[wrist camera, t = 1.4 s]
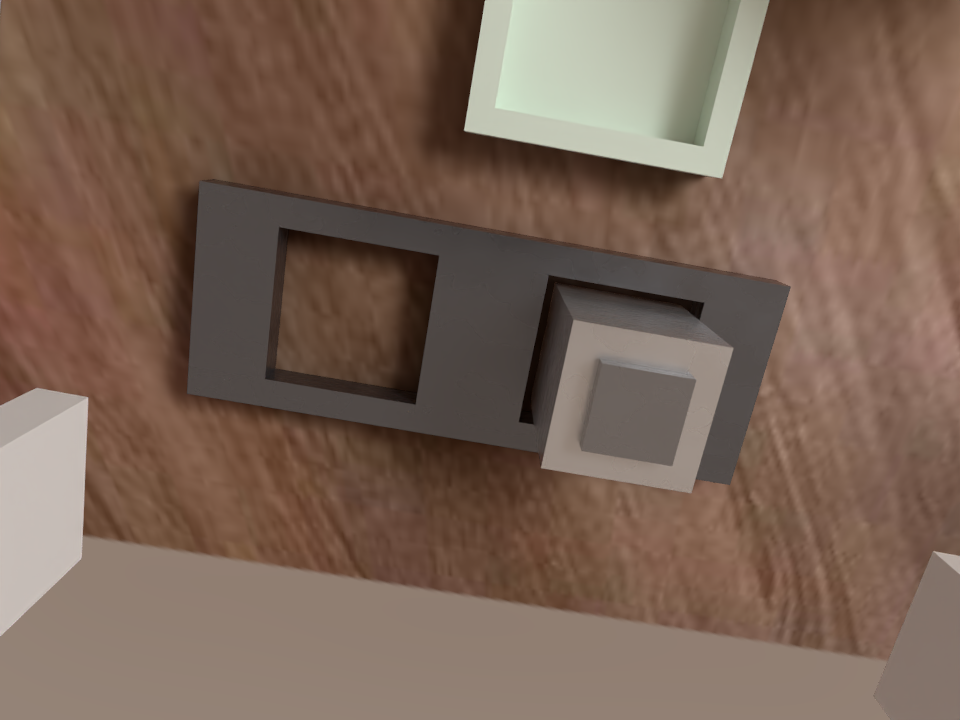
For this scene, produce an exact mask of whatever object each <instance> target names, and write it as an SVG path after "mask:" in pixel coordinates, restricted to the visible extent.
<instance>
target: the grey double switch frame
mask: <svg viewBox="0 0 960 720" xmlns="http://www.w3.org/2000/svg"><path fill="white" fill-rule="evenodd" d="M289 229H293V230H298V231H304V232H309V233H315V234H321V235H326V236H332V237H338V238H343V239H349V240H354V241H360V242H366V243H371V244H377V245H383V246H388V247H394V248H399V249H405V250H411V251H416V252H422V253H428V254H433V255H439V261H438V267H437V273H436V280H435V286H434V292H433V299H432V305H431V311H430V317H429V324H428V330H427V336H426V343H425V349H424V355H423V361H422V368H421V374H420V380H419V386H418V393H415V392H409V391H403V390H397V389H392V388H386V387H380V386H374V385H368V384H362V383H356V382H350V381H345V380H339V379H333V378H327V377H321V376H315V375H309V374H303V373H298V372H292V371H286V370H280V369H275V366H276V355H277V345H278V335H279V324H280V314H281V303H282V293H283V283H284V272H285V262H286V252H287V241H288V231H289ZM549 275H551V276H557V277H563V278H568V279H574V280H580V281H585V282H591V283H596V284H602V285H608V286H613V287H619V288H625V289H630V290H636V291H641V292H647V293H653V294H658V295H664V296H670V297H675V298H681V299H686V300H692V301H693V303H692V306H691V310H690V313H691V314H692V315H693V316H695V317H696V318H697V319H698V320H700V321H701V322H702V323H703V324H704V325H706V326H707V327H708V328H709V329H711V330H712V331H713V332H714V333H716V334H717V335H718V336H719V337H721V338H722V339H723V340H724V341H726V342H727V343H728V344H729V345H730V346H732V347H733V348H734V349H733V352H732V355H731V359H730V362H729V366H728V369H727V373H726V376H725V379H724V383H723V386H722V390H721V393H720V397H719V400H718V403H717V407H716V410H715V414H714V417H713V421H712V424H711V427H710V431H709V434H708V438H707V441H706V445H705V448H704V451H703V455H702V458H701V462H700V465H699V469H698V472H697V475H696V479H698V480H704V481H710V482H716V483H722V484H728V485H730V483H731V479H732V476H733V473H734V470H735V466H736V463H737V460H738V457H739V453H740V450H741V447H742V444H743V440H744V437H745V434H746V431H747V427H748V424H749V421H750V418H751V414H752V411H753V408H754V405H755V401H756V398H757V395H758V392H759V388H760V385H761V382H762V379H763V375H764V372H765V369H766V366H767V362H768V359H769V356H770V353H771V349H772V346H773V343H774V340H775V336H776V333H777V330H778V327H779V323H780V320H781V317H782V314H783V310H784V307H785V304H786V300H787V297H788V294H789V291H790V286H788V285H786V284H783V283H781V282H779V281H777V280H772V279H766V278H760V277H755V276H749V275H744V274H738V273H733V272H727V271H722V270H716V269H710V268H705V267H699V266H694V265H688V264H683V263H677V262H671V261H666V260H660V259H655V258H649V257H644V256H638V255H632V254H627V253H621V252H616V251H610V250H605V249H599V248H593V247H588V246H582V245H577V244H571V243H566V242H560V241H555V240H549V239H543V238H538V237H532V236H527V235H521V234H516V233H510V232H504V231H499V230H493V229H488V228H482V227H477V226H471V225H465V224H460V223H454V222H449V221H443V220H438V219H432V218H427V217H421V216H415V215H410V214H404V213H399V212H393V211H388V210H382V209H376V208H371V207H365V206H360V205H354V204H349V203H343V202H337V201H332V200H326V199H321V198H315V197H310V196H304V195H298V194H293V193H287V192H282V191H276V190H271V189H265V188H260V187H254V186H248V185H243V184H237V183H232V182H226V181H221V180H215V179H212V180H202V181H200V182H199V199H198V216H197V233H196V249H195V266H194V283H193V300H192V317H191V334H190V351H189V368H188V385H187V394H192V395H198V396H204V397H210V398H216V399H222V400H228V401H234V402H240V403H246V404H252V405H258V406H264V407H270V408H276V409H282V410H288V411H293V412H299V413H305V414H311V415H317V416H323V417H329V418H335V419H341V420H347V421H353V422H359V423H365V424H371V425H377V426H383V427H389V428H395V429H401V430H407V431H412V432H418V433H424V434H430V435H436V436H442V437H448V438H454V439H460V440H466V441H472V442H478V443H484V444H490V445H496V446H502V447H508V448H514V449H520V450H526V451H532V452H537V453H538V447H537V440H536V434H535V428H534V422H533V416H532V412H527V411H521V408H522V403H523V398H524V393H525V388H526V383H527V379H528V374H529V369H530V364H531V359H532V354H533V349H534V345H535V340H536V335H537V330H538V325H539V320H540V315H541V311H542V306H543V301H544V296H545V291H546V286H547V281H548V277H549Z"/></svg>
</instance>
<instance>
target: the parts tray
mask: <svg viewBox="0 0 960 720" xmlns="http://www.w3.org/2000/svg"><path fill="white" fill-rule="evenodd" d="M768 4H769V0H485V4H484V10H483V16H482V23H481V29H480V35H479V41H478V48H477V54H476V60H475V66H474V72H473V79H472V85H471V91H470V97H469V103H468V110H467V116H466V122H465V128H464V131H465V132H468V133H473V134H479V135H484V136H490V137H495V138H500V139H506V140H511V141H517V142H522V143H528V144H533V145H538V146H544V147H549V148H555V149H560V150H565V151H571V152H576V153H582V154H587V155H593V156H598V157H603V158H609V159H614V160H620V161H625V162H630V163H636V164H641V165H647V166H652V167H658V168H663V169H668V170H674V171H679V172H685V173H690V174H695V175H701V176H706V177H715V178H722V176H723V173H724V169H725V165H726V161H727V158H728V154H729V150H730V146H731V143H732V139H733V135H734V131H735V128H736V124H737V120H738V116H739V113H740V109H741V105H742V101H743V98H744V94H745V90H746V86H747V83H748V79H749V75H750V71H751V68H752V64H753V60H754V56H755V53H756V49H757V45H758V41H759V38H760V34H761V30H762V26H763V23H764V19H765V15H766V11H767V8H768Z"/></svg>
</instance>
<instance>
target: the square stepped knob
mask: <svg viewBox="0 0 960 720" xmlns="http://www.w3.org/2000/svg"><path fill="white" fill-rule="evenodd" d="M733 349H734V348H733V347H732V346H730V345H729V344H728V343H727V342H726V341H724V340H723V339H722V338H721V337H719V336H718V335H717V334H716V333H714V332H713V331H712V330H711V329H709V328H708V327H707V326H706V325H704V324H703V323H702V322H701V321H700V320H698V319H697V318H696V317H695V316H693V315H692V314H691V313H690V312H688V311H687V310H686V309H685V308H683V307H682V306H681V305H679V304H674V303H668V302H662V301H657V300H651V299H645V298H640V297H634V296H629V295H623V294H617V293H612V292H606V291H600V290H595V289H589V288H583V287H578V286H572V285H567V284H561V283H555V285H554V290H553V294H552V299H551V304H550V309H549V314H548V318H547V323H546V328H545V333H544V337H543V342H542V347H541V352H540V357H539V361H538V366H537V371H536V376H535V381H534V385H533V390H532V395H531V400H530V403H531V409H532V416H533V422H534V428H535V434H536V440H537V447H538V453H539V459H540V465H541V468H543V469H549V470H555V471H561V472H567V473H573V474H579V475H585V476H591V477H597V478H603V479H609V480H615V481H621V482H627V483H633V484H639V485H645V486H651V487H657V488H663V489H669V490H675V491H681V492H687V493H692V489H693V486H694V482H695V479H696V475H697V472H698V469H699V465H700V462H701V458H702V455H703V451H704V448H705V445H706V441H707V438H708V434H709V431H710V427H711V424H712V421H713V417H714V414H715V410H716V407H717V403H718V400H719V397H720V393H721V390H722V386H723V383H724V379H725V376H726V373H727V369H728V366H729V362H730V359H731V355H732V352H733Z"/></svg>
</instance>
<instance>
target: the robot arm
mask: <svg viewBox="0 0 960 720" xmlns="http://www.w3.org/2000/svg"><path fill="white" fill-rule="evenodd" d="M87 416H88V397H83V396H78V395H72V394H67V393H62V392H56V391H51V390H45V389H40V388H36V389H34V390H31V391H29V392H27V393H25V394H23V395H21V396H19V397H17V398H15V399H13V400H11V401H9V402H7V403H5V404H3V405H1V406H0V636H1V635H2V634H3V633H4V632H5V631H6V630H7V629H8V628H10V626H12V625H13V624H14V623H15V622H16V621H17V620H18V619H19V618H20V617H21V616H22V615H23V614H24V613H25V612H26V611H27V610H28V609H29V608H30V607H31V606H32V605H34V604H35V603H36V602H37V601H38V600H39V599H40V598H41V597H42V596H43V595H44V594H45V593H46V592H47V591H48V590H49V589H50V588H51V587H52V586H53V585H54V584H55V583H56V582H57V581H59V580H60V578H61V577H62V576H64V575H65V574H66V573H67V572H68V571H69V570H70V569H71V568H72V567H73V566H74V565H75V564H76V563H77V562H78V561H79V560H80V559H81V558H82V538H83V514H84V489H85V465H86V440H87ZM874 697H875V699H876V700H877V701H878V703H879V704H880V706H881V707H882V709H883V710H884V711H885V713H886V714H887V716H888V717H889V718H890V720H960V556H957V555H952V554H946V553H941V552H935V551H933V552H932V555H931V557H930V559H929V562H928V564H927V567H926V569H925V572H924V574H923V576H922V579H921V581H920V584H919V586H918V589H917V591H916V594H915V596H914V598H913V601H912V603H911V606H910V608H909V611H908V613H907V615H906V618H905V620H904V623H903V625H902V628H901V630H900V632H899V635H898V637H897V640H896V642H895V645H894V647H893V649H892V652H891V654H890V657H889V659H888V662H887V664H886V666H885V669H884V671H883V674H882V676H881V679H880V681H879V684H878V686H877V689H876V691H875V693H874Z"/></svg>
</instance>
